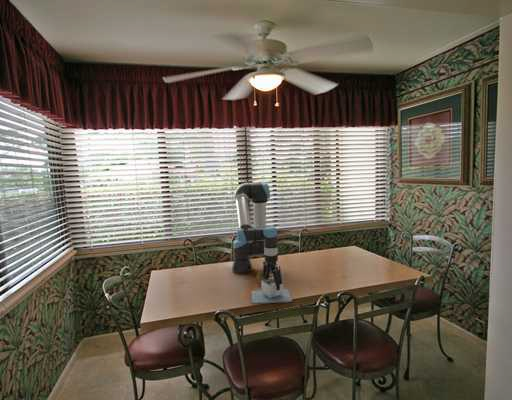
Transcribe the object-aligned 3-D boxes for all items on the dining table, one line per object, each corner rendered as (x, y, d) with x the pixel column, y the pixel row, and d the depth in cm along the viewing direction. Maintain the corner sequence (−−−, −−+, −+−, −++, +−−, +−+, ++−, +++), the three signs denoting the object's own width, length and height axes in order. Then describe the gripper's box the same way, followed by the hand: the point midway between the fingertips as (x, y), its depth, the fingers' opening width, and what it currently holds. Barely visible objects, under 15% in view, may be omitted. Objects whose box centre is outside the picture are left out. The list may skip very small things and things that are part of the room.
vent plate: (251, 291, 177) (251, 279, 176) (287, 289, 178) (287, 277, 177) (252, 303, 161) (251, 290, 160) (292, 301, 162) (291, 288, 161)
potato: (259, 288, 181) (259, 276, 180) (255, 281, 194) (255, 269, 193) (272, 287, 183) (272, 274, 182) (268, 279, 195) (267, 268, 194)
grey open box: (274, 288, 176) (273, 277, 175) (283, 293, 168) (283, 281, 167) (261, 292, 171) (261, 280, 170) (270, 297, 163) (269, 285, 162)
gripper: (255, 251, 174) (256, 287, 177) (276, 260, 156) (278, 300, 158) (265, 249, 178) (267, 284, 180) (288, 257, 160) (289, 297, 162)
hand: (272, 292), depth 169 cm, fingers closed on grey open box, 9 cm apart
